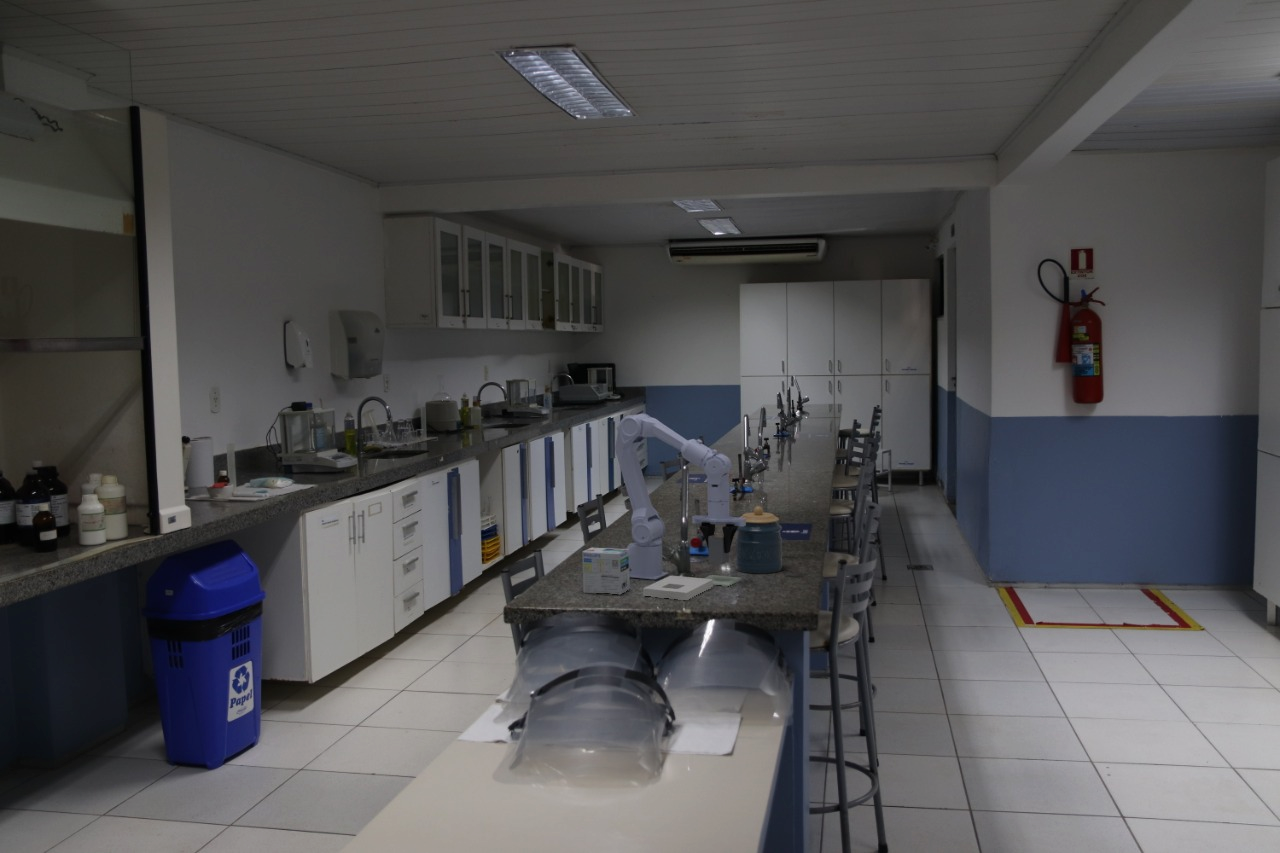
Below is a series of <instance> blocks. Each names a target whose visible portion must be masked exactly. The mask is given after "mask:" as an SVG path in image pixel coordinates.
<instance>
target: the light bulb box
mask: <svg viewBox="0 0 1280 853" xmlns="http://www.w3.org/2000/svg"><path fill="white" fill-rule="evenodd" d="M581 552H582V553H581V557H582V558H581V559H582V561H581V562H582V592H584V594H596V593H611V594H610V595H612V594H622V593H624V592H625V593H627V592H628V591H630V590H631V579H630V578H631V577H630V570H629V549H627V548H611V547H610V548H609V547H593V546H592V547H589V548H587V549H585V550H583V551H581ZM629 589H630V590H629ZM627 590H628V591H627ZM626 591H627V592H626ZM625 593H624V594H625ZM622 595H623V594H622Z"/></svg>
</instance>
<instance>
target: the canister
mask: <svg viewBox="0 0 1280 853" xmlns="http://www.w3.org/2000/svg"><path fill="white" fill-rule="evenodd" d="M738 518H746V526H743V527H740V526H738V529H737V531H736V537H735V539H734V541H735V567H736V570H737V571H739V572H742V573H746V574H747V573H748V574H771V573H776V572H780V571H781V570H782V567H783V559H782V557H783V556H782V552H783V551H782V550H783V549H782V546H783V545H782V542H783V538H782V536H781V530H782V529H783V527H782V525H781V524H779V523H778V521H780V518H779V517H777V516H776V515H775V514H774V513H771V512H764V509H763V507H762V506H760V505H758V506H757V505H756V506H755V507H754V508H753V512H746V513H743V514H742V515H741V516H740V517H738Z"/></svg>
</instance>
